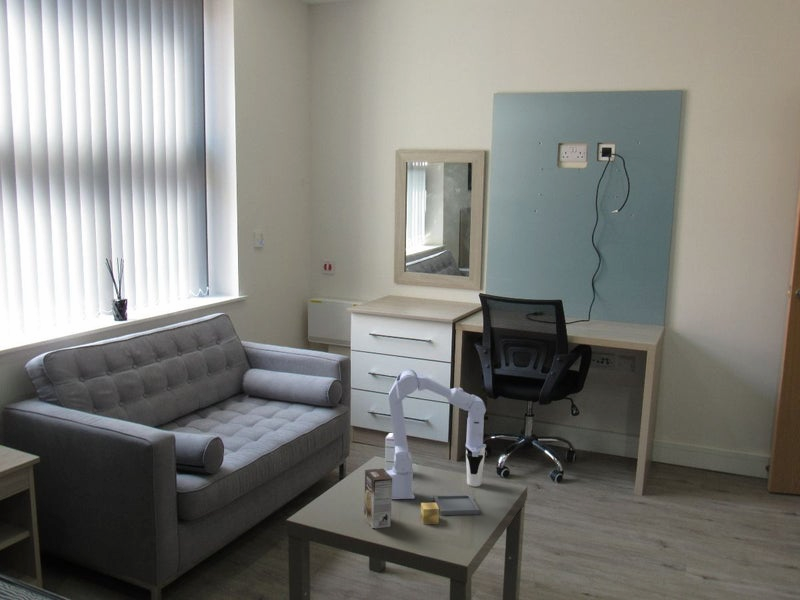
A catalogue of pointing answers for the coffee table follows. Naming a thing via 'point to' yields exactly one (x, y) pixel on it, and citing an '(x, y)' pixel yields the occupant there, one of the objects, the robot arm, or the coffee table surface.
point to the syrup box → (389, 452)
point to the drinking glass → (477, 478)
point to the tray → (456, 504)
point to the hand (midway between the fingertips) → (473, 469)
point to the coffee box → (378, 498)
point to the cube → (429, 513)
